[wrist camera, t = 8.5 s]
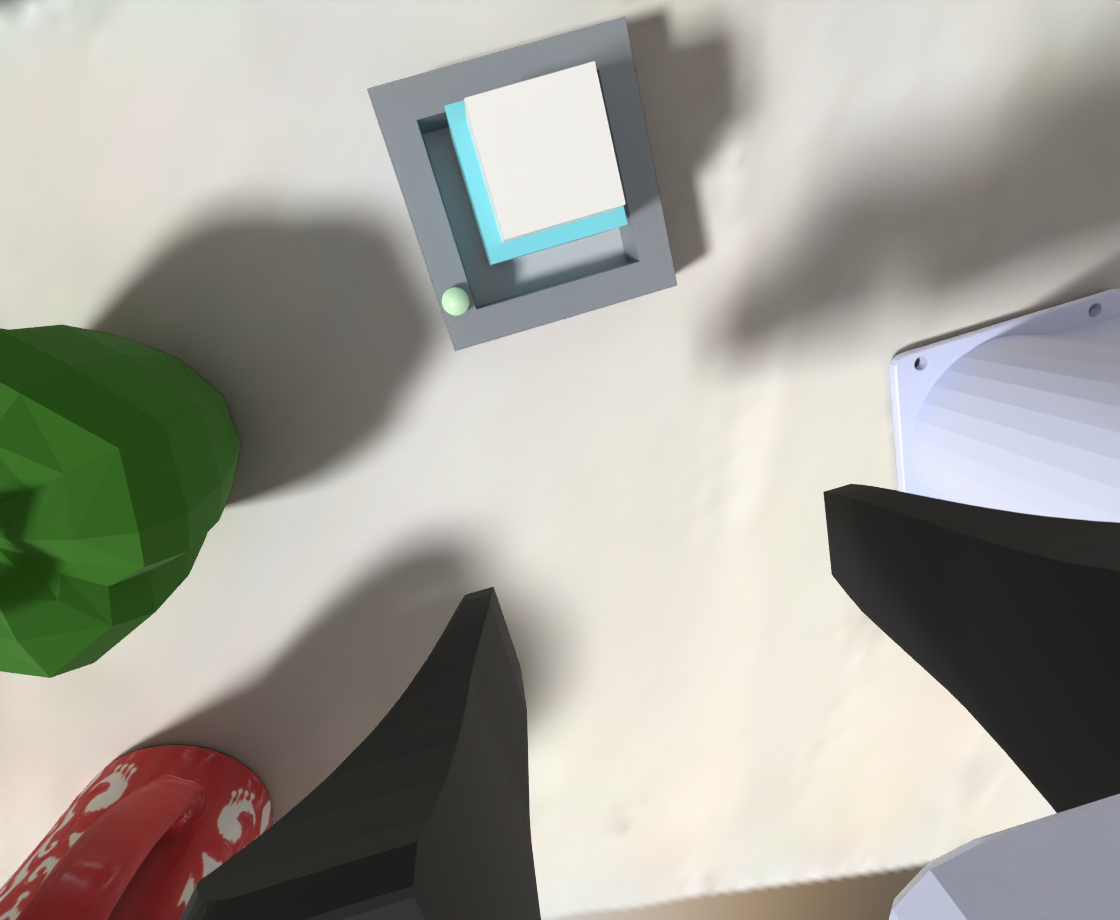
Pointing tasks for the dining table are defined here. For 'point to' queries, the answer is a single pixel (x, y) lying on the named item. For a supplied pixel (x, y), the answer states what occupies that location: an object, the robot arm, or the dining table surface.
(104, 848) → the mug
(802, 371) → the dining table surface
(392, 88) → the port
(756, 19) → the dining table surface
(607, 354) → the dining table surface
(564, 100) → the plug
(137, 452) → the bell pepper
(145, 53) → the dining table surface
